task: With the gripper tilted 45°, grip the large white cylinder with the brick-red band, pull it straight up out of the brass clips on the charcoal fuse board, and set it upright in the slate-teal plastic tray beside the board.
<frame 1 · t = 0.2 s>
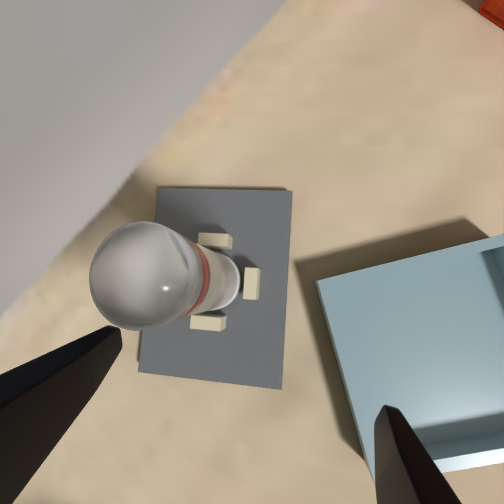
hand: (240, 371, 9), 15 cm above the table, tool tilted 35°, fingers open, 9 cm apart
white cylinder: (215, 281, 24), point 1 cm above the table, touching fuse board
fuse board: (218, 281, 25), on the table
tray: (428, 347, 22), on the table
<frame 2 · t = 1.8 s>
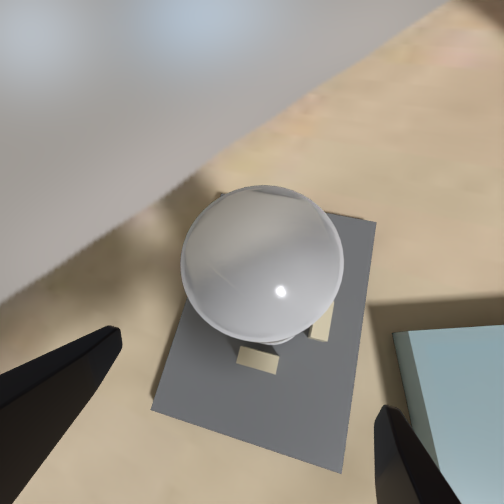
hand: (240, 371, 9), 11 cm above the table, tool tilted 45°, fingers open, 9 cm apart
white cylinder: (271, 309, 19), point 1 cm above the table, touching fuse board
fuse board: (271, 311, 20), on the table
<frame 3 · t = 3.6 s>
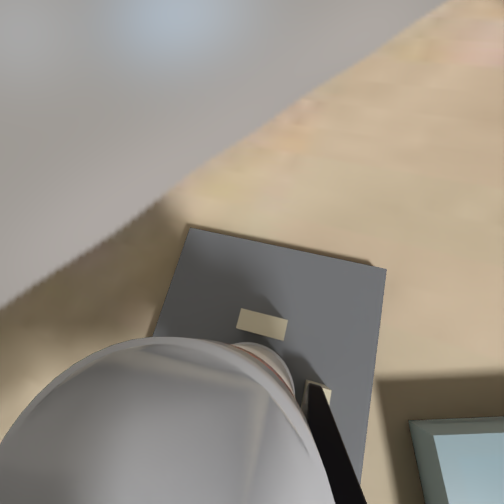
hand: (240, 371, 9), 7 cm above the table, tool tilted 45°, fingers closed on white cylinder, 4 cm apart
white cylinder: (248, 388, 15), point 1 cm above the table, touching fuse board, gripper
fuse board: (250, 385, 16), on the table
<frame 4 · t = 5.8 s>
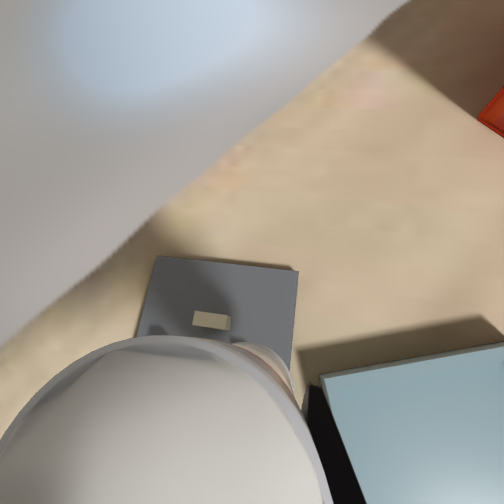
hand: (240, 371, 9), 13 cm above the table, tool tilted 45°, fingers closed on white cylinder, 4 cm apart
white cylinder: (248, 388, 15), point 7 cm above the table, touching gripper
fuse board: (210, 365, 22), on the table
tray: (451, 470, 18), on the table
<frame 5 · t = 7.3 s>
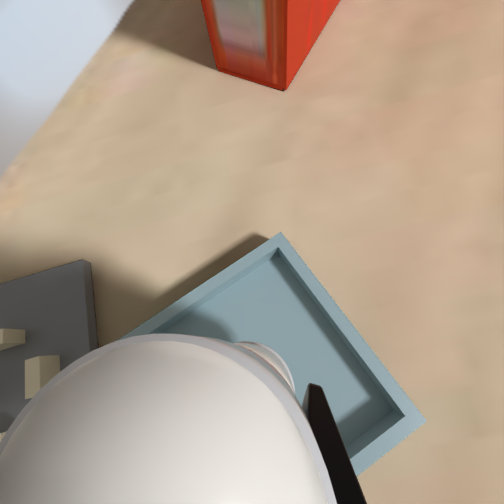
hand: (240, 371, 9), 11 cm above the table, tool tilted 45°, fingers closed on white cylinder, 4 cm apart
white cylinder: (249, 387, 15), point 5 cm above the table, touching gripper
fuse board: (21, 385, 21), on the table
file binder: (286, 25, 30), on the table
tray: (256, 376, 20), on the table
when the fingers open (8 cm above the table, at t = 8.2 s): white cylinder drops 1 cm, resting on tray.
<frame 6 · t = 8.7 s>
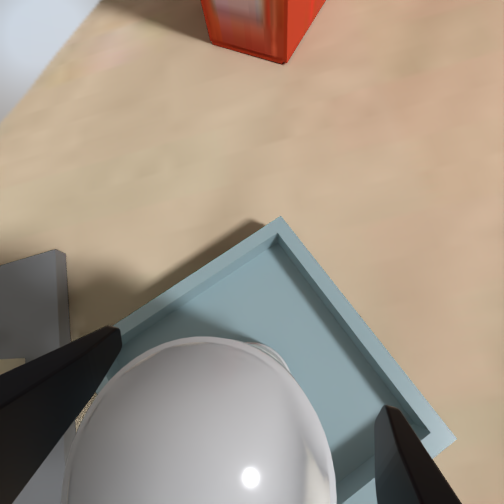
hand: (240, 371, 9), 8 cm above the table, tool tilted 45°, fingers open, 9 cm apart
white cylinder: (251, 384, 16), point 1 cm above the table, touching tray
tray: (252, 382, 17), on the table
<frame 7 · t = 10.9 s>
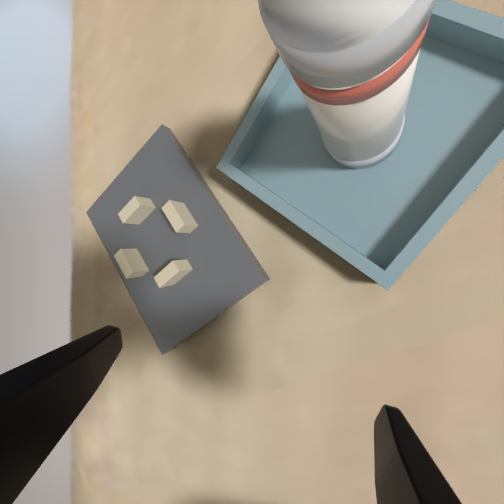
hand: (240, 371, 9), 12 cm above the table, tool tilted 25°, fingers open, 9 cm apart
white cylinder: (361, 132, 18), point 1 cm above the table, touching tray
fuse board: (169, 241, 25), on the table
tray: (362, 137, 19), on the table
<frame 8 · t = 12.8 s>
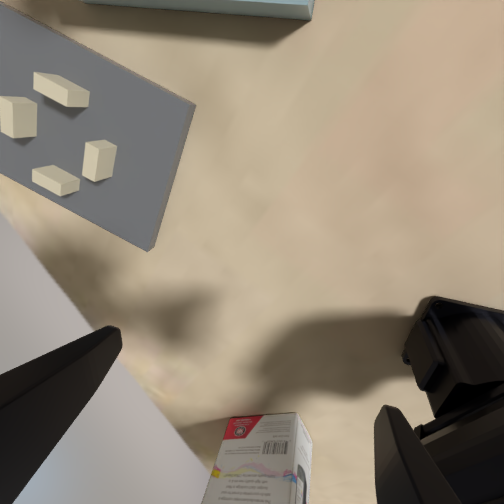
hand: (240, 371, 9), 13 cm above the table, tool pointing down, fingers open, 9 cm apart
fuse board: (80, 136, 21), on the table
ink box: (270, 425, 32), on the table
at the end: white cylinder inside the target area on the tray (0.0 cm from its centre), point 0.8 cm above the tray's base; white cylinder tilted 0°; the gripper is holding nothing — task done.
